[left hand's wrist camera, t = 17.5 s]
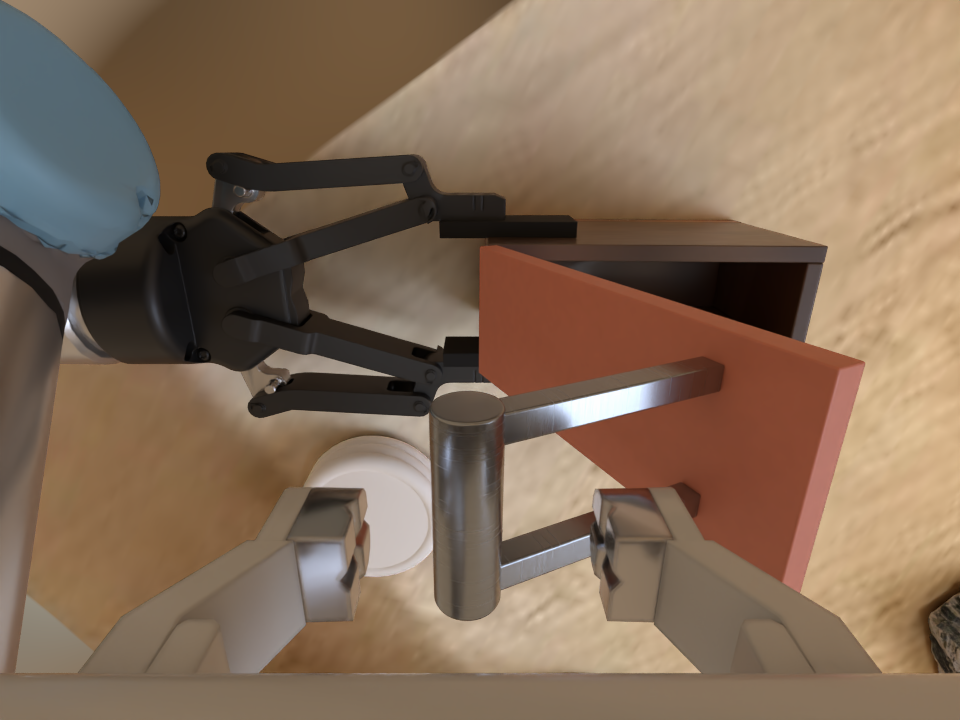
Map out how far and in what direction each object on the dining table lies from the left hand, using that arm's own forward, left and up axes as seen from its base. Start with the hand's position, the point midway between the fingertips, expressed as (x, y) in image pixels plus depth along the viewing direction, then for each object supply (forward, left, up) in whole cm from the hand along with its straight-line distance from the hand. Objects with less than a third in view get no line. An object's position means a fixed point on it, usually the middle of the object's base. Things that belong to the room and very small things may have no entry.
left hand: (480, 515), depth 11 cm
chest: (-5, +6, -25) cm, 26 cm away
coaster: (+18, +5, -25) cm, 31 cm away
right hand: (-3, +4, -18) cm, 19 cm away
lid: (-3, +3, -8) cm, 9 cm away
